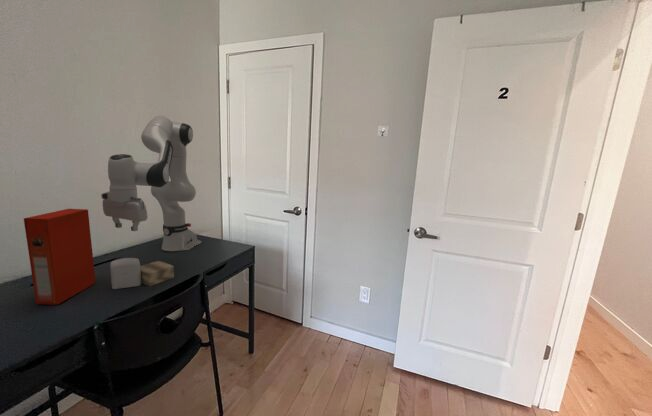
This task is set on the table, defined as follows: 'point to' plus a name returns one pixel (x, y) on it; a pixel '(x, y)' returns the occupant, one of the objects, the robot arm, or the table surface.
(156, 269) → the oak box
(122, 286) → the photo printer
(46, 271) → the file binder
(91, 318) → the table surface
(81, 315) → the table surface
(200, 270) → the table surface
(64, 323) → the table surface
